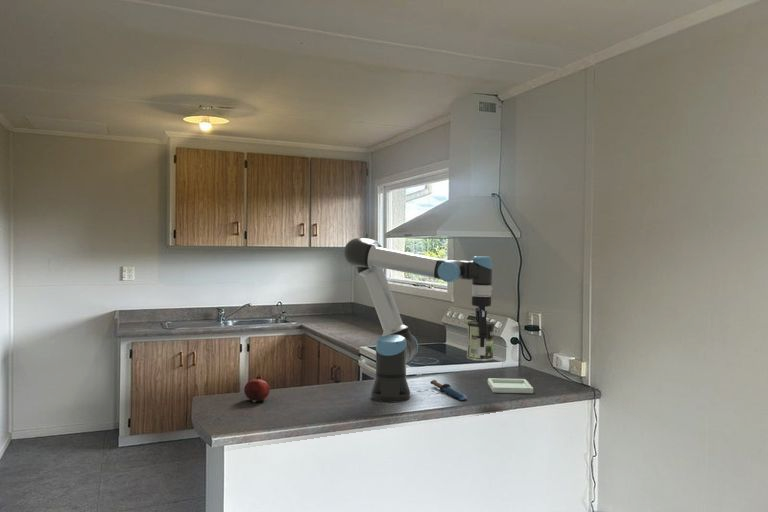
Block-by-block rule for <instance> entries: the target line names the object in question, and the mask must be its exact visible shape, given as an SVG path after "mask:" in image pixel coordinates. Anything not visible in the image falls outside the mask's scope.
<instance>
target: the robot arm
mask: <svg viewBox="0 0 768 512" xmlns="http://www.w3.org/2000/svg"><path fill="white" fill-rule="evenodd" d="M343 256H344V259H345V260H346V263H348V264H349V265H351V266H352V267H355V268H356V269H357V270H356V271H357V273H358V275H360V276H362V277H363V279H364V280H365V284H366V287H367V290H368V292H369V296H370V297H371V300H372V303H373V305H374V308H375V312H376V314H377V316H378V319H379V323H380V325H381V327H382V330H383V333H382V335H381V336H379V337H378V338H377V339H376V345H375V378H374V381H373V385H372V387H371V390H370V392H371V393H370V397H371V399H372V398H373V399H372V400H375V401H377V400H378V401H377V402H382V401H383V402H384V403H400V401H401V402H406V401H408V400H409V399H410V398H411V390H410V387H409V383H408V381H407V375H406V374H407V373H406V372H407V363H410V362H411V361H412V360H413V359H414V358H415V357H416V355H417V353H418V350H419V349H418V348H419V343H418V341H417V338H416V337H415V336H414V335H412V334H411V331H410V328H409V326H408V325H405V324H404V323H403V320H402V317H401V315H400V311H399V309H398V306H397V304H396V301H395V298H394V295H393V293H392V290H391V288H390V285H389V282H388V279H387V276H386V274H385V271H384V269H385V270H386V269H387V270H391V271H396V272H401V273H406V274H411V275H417V276H422V277H427V278H432V279H437V280H440V281H441V280H442V281H444V282H446V283H453V282H455V281H457V280H458V281H459V280H460V281H461V280H462V281H467V280H468V281H471V295H472V296H471V306H473V307H475V320H474V321H476V322H479V324H480V327H479V336H477V338H478V355H485V347H486V337H487V331H486V321H487V314H488V311H487V310H486V307H491V306H492V291H493V290H494V288H493V287H492V282H493V259H492V257H491V256H485V255H484V256H478V255H475V256H473V257H472V260H455V259H454V260H453V259H448V260H447V259H440V258H436V257H431V256H430V257H429V256H424V255H419V254H414V253H409V252H403V251H399V250H394V249H387V248H383V246H382V245H381V243H380V242H379V241H377V240H375V239H372V238H371V237H369V238H367V237H365V238H364V237H363V238H361V237H356V238H355V237H354V238H353V239H350V240H349V241H348V242H347V243H346V245H345V246H344V249H343Z"/></svg>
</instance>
